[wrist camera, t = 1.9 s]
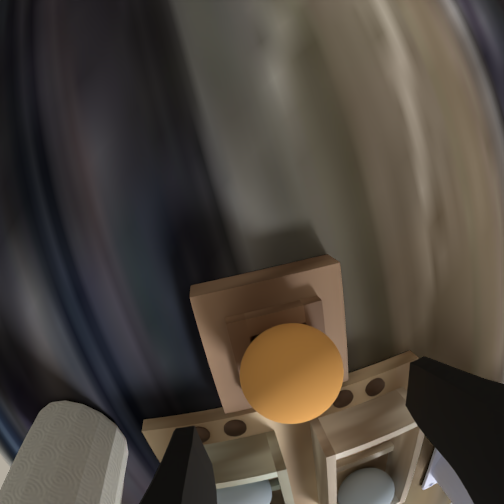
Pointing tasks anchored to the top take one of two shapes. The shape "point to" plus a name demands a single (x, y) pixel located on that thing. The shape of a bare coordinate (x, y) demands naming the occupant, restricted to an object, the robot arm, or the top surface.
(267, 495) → the slate ball
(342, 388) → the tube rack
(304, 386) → the ball orange
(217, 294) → the stand
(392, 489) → the slate ball
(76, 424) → the paper towel roll
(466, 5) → the top surface
